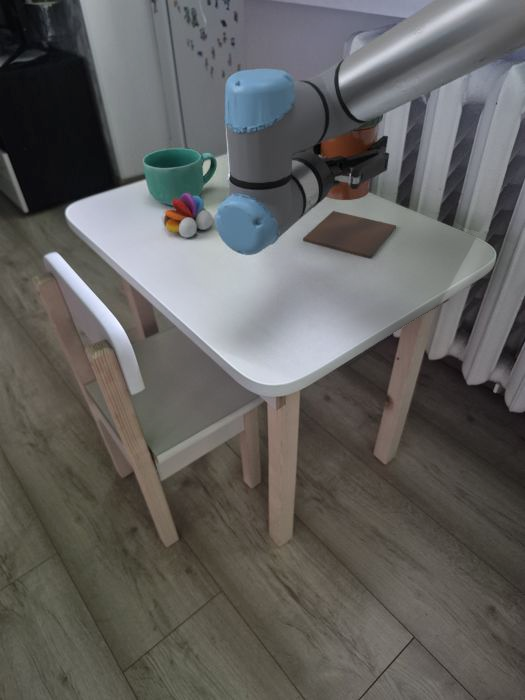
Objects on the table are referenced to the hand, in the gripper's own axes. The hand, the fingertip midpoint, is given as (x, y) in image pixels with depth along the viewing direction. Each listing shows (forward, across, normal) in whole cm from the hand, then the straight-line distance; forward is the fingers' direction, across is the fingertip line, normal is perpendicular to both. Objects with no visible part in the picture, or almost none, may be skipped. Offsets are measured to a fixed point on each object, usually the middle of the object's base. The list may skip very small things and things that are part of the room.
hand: (357, 140), depth 82 cm
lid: (-5, 0, +6) cm, 8 cm away
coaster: (+3, 0, -19) cm, 19 cm away
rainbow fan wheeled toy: (-11, -30, -19) cm, 38 cm away
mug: (+1, -40, -19) cm, 45 cm away
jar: (-5, 0, -7) cm, 8 cm away
